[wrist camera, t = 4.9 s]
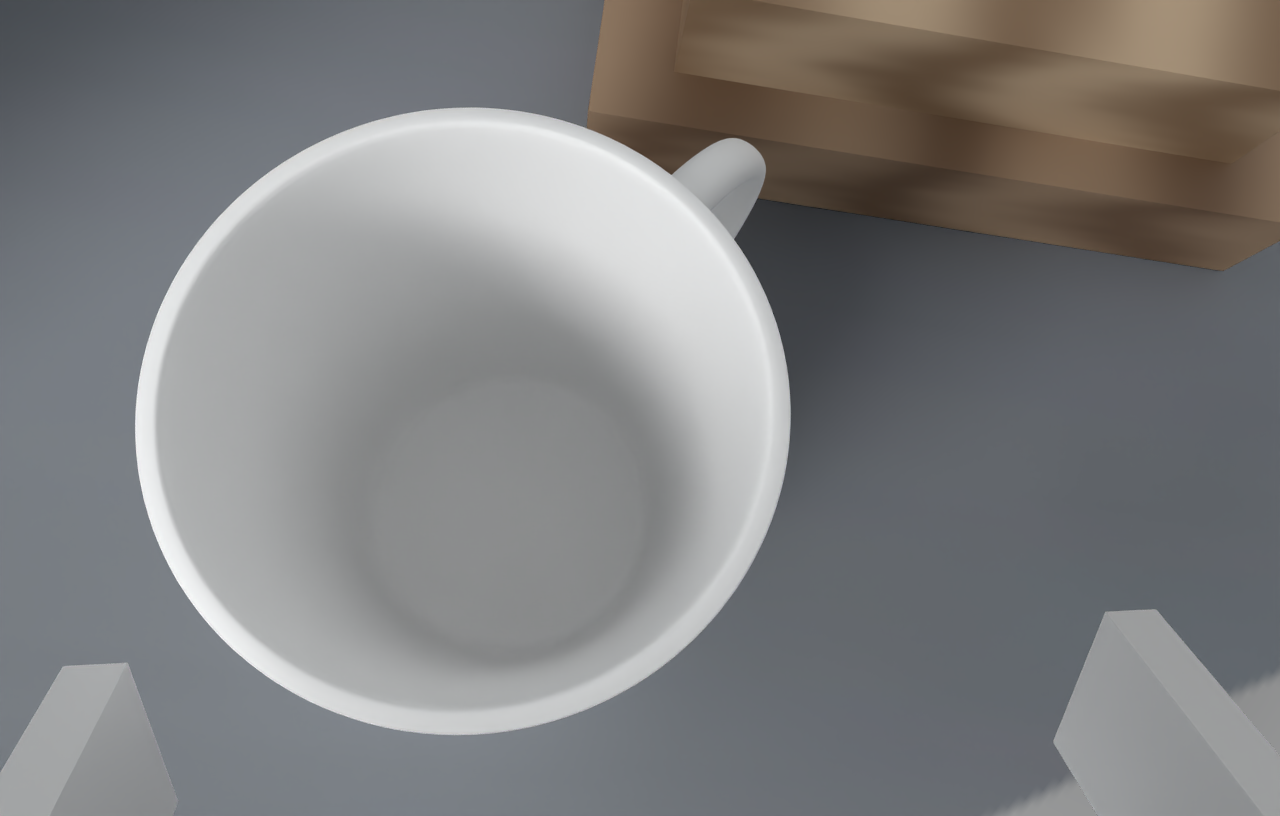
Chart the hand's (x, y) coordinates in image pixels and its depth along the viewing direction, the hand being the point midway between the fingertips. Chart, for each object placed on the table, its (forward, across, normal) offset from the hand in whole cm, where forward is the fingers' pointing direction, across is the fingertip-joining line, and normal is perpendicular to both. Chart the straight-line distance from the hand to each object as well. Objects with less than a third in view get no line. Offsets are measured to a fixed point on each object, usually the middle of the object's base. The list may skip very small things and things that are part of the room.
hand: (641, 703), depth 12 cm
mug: (+11, -1, -3) cm, 11 cm away
